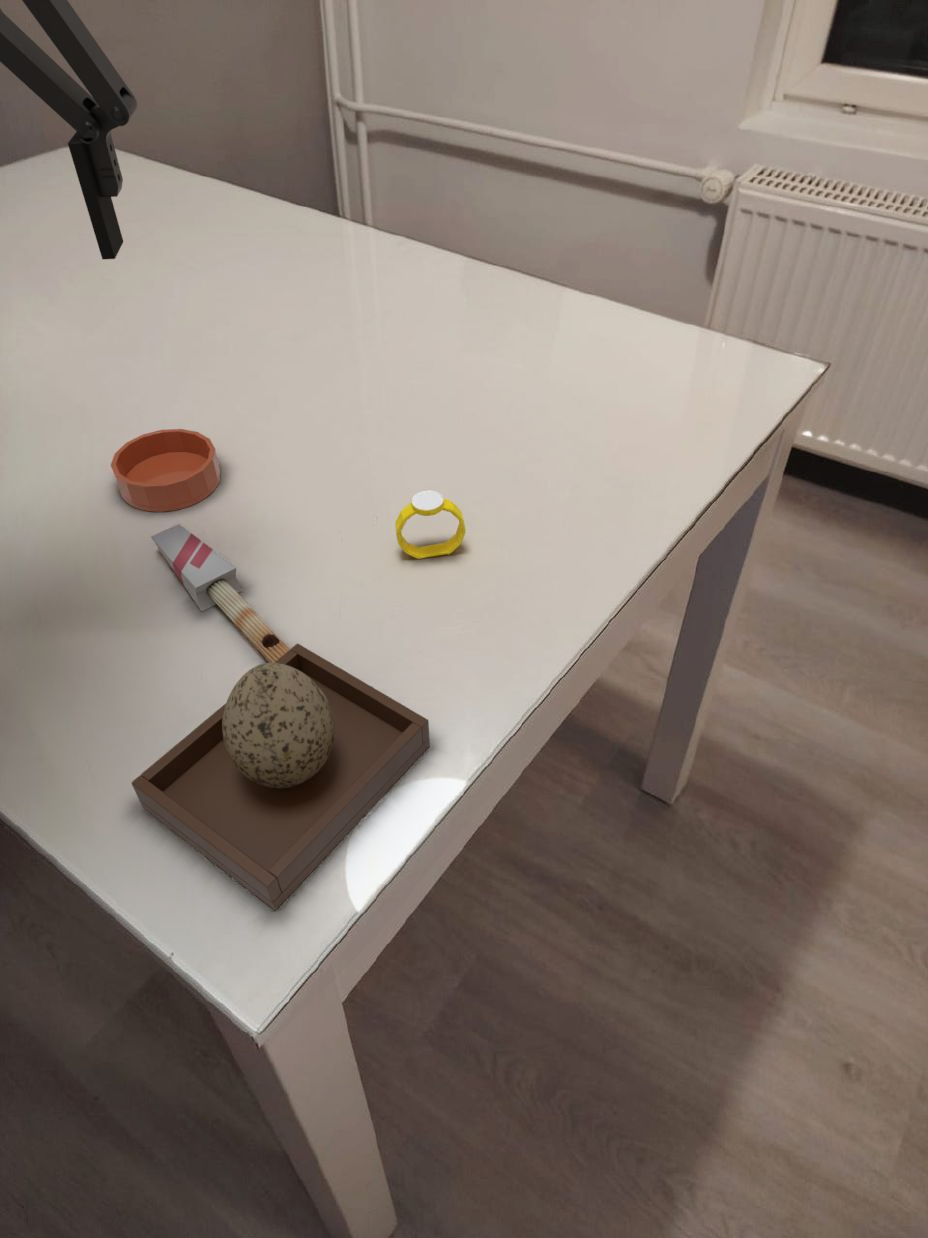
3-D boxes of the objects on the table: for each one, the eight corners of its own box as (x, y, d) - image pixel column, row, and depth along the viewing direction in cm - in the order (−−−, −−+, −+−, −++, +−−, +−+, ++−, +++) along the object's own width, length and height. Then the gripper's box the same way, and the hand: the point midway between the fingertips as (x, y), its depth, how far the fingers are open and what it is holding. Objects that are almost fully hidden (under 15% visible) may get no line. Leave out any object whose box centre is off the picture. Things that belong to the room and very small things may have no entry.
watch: (462, 539, 79) (461, 485, 75) (467, 559, 77) (467, 505, 73) (396, 546, 78) (392, 493, 74) (400, 566, 76) (396, 513, 72)
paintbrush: (181, 508, 77) (303, 639, 67) (187, 531, 79) (307, 662, 69) (141, 525, 75) (260, 663, 65) (148, 549, 77) (265, 686, 67)
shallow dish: (111, 514, 82) (101, 488, 80) (130, 456, 88) (122, 431, 86) (214, 509, 82) (207, 483, 80) (225, 451, 89) (219, 426, 87)
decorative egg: (279, 831, 56) (252, 737, 49) (215, 768, 60) (181, 672, 53) (362, 765, 60) (348, 669, 53) (297, 710, 63) (276, 613, 56)
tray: (275, 911, 53) (267, 887, 51) (142, 808, 59) (130, 782, 57) (430, 745, 62) (428, 719, 60) (302, 669, 68) (297, 642, 66)
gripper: (120, -227, 42) (212, 224, 57) (-420, -223, 41) (-181, 238, 56) (86, -225, 37) (197, 271, 52) (-538, -220, 35) (-238, 288, 50)
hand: (1, 255), depth 54 cm, fingers open, 13 cm apart
